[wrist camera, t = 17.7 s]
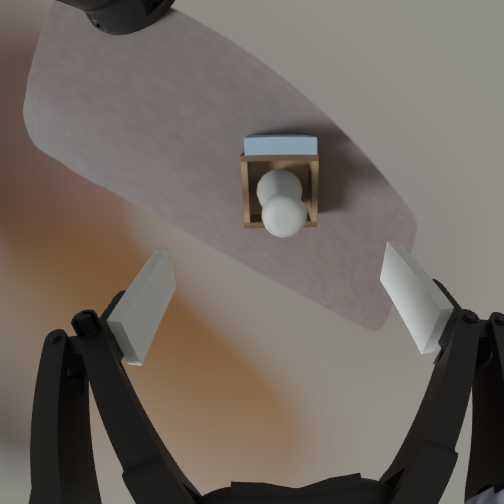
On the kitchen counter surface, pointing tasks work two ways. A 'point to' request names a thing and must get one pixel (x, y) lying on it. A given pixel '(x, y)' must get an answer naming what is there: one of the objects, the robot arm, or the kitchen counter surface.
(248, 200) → the open wooden crate
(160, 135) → the kitchen counter surface
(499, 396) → the robot arm
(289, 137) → the pale blue lid slab
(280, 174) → the salt shaker
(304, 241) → the kitchen counter surface
